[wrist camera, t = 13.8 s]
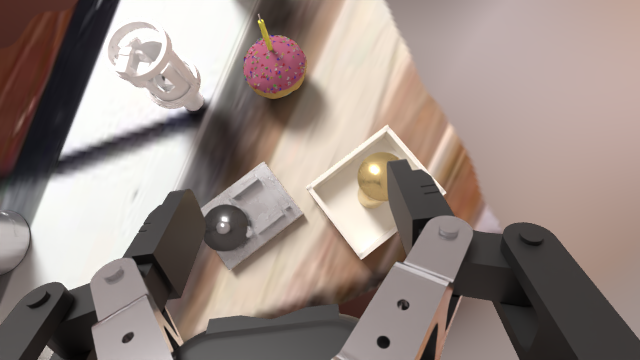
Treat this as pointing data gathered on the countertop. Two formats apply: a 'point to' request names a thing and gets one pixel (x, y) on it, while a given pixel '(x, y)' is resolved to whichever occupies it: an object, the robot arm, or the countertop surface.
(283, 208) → the tensioner plate
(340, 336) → the robot arm
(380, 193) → the gold mushroom peg
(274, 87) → the cupcake
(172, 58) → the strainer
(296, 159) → the countertop surface
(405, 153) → the tray
